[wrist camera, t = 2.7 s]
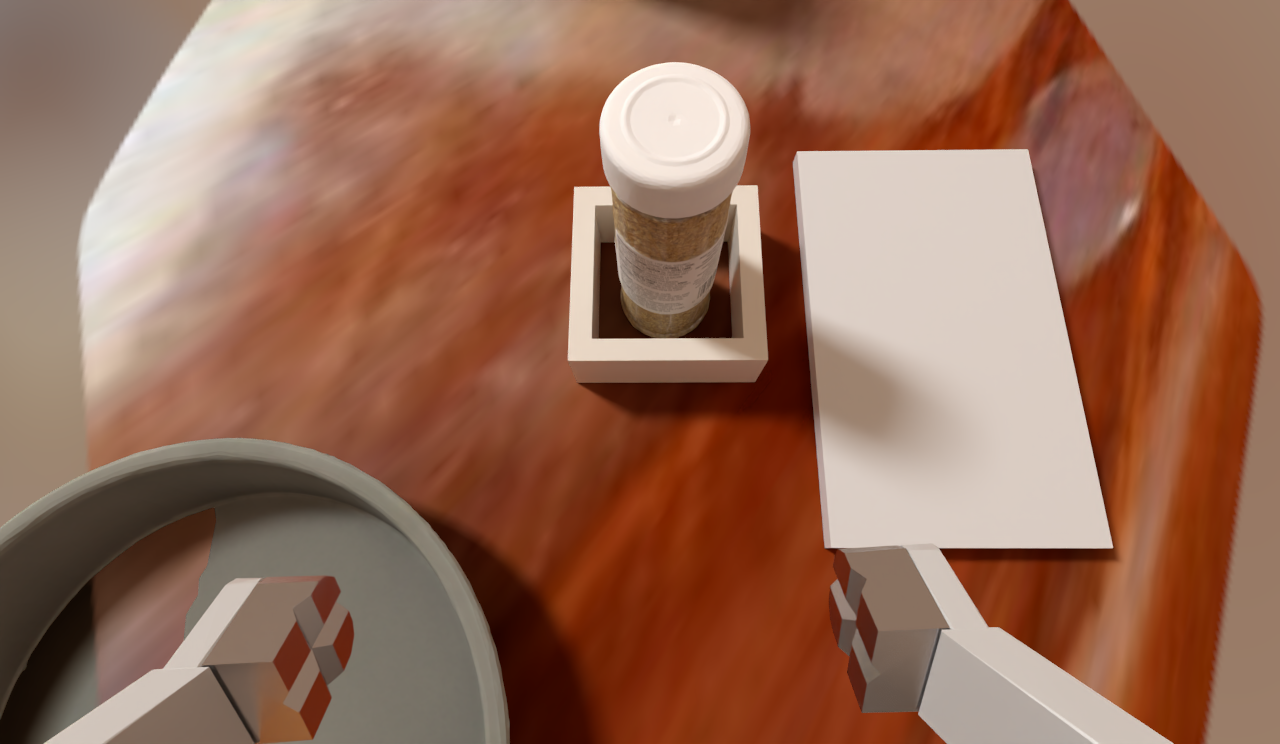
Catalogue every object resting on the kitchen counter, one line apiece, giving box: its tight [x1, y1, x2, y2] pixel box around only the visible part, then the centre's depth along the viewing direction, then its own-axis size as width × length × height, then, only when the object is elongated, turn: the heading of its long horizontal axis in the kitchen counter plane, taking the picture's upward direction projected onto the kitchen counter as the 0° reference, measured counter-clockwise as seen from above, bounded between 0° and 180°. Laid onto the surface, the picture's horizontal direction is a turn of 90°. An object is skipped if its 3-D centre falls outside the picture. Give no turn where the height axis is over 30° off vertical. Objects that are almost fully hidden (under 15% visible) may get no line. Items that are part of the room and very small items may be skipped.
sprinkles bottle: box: [599, 62, 750, 338], centre depth 24 cm, size 5×5×13 cm
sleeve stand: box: [568, 185, 768, 383], centre depth 29 cm, size 9×9×4 cm
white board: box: [793, 149, 1113, 549], centre depth 30 cm, size 20×12×1 cm, turn 0°
